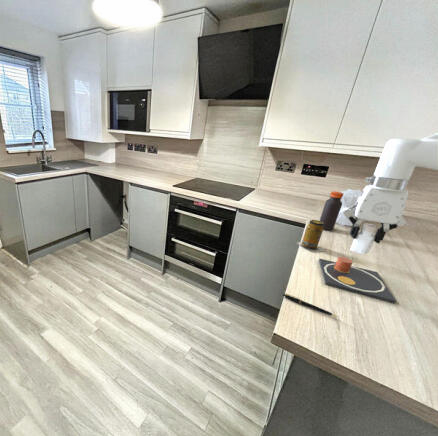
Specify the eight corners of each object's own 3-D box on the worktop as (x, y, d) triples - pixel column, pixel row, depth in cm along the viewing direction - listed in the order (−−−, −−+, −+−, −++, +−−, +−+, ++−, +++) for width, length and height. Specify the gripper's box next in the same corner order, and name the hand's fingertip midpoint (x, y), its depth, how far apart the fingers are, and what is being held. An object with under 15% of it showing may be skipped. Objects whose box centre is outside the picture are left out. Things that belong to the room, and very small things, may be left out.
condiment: (309, 242, 110) (317, 218, 106) (325, 251, 102) (334, 226, 98) (296, 243, 109) (303, 219, 104) (311, 252, 101) (319, 226, 97)
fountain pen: (338, 317, 66) (339, 313, 66) (338, 320, 65) (339, 316, 65) (281, 295, 74) (282, 291, 74) (281, 297, 73) (282, 293, 73)
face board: (376, 274, 87) (377, 271, 87) (395, 303, 72) (396, 300, 72) (318, 260, 95) (319, 258, 95) (324, 284, 80) (325, 281, 80)
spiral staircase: (329, 230, 134) (335, 217, 151) (371, 227, 121) (372, 213, 138) (321, 200, 132) (328, 190, 149) (363, 193, 119) (365, 183, 136)
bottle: (316, 228, 126) (328, 192, 119) (318, 224, 131) (330, 190, 123) (331, 232, 122) (344, 195, 114) (333, 228, 126) (346, 192, 119)
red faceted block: (347, 267, 88) (351, 258, 87) (350, 273, 85) (354, 264, 83) (333, 264, 90) (336, 255, 89) (335, 270, 87) (339, 260, 85)
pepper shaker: (369, 253, 76) (381, 226, 72) (363, 256, 74) (375, 228, 71) (354, 247, 79) (365, 222, 76) (348, 250, 77) (359, 224, 74)
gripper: (354, 181, 69) (333, 237, 76) (436, 190, 61) (405, 251, 68) (348, 177, 75) (330, 229, 82) (422, 185, 68) (395, 241, 74)
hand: (364, 238), depth 75 cm, fingers closed on pepper shaker, 5 cm apart
